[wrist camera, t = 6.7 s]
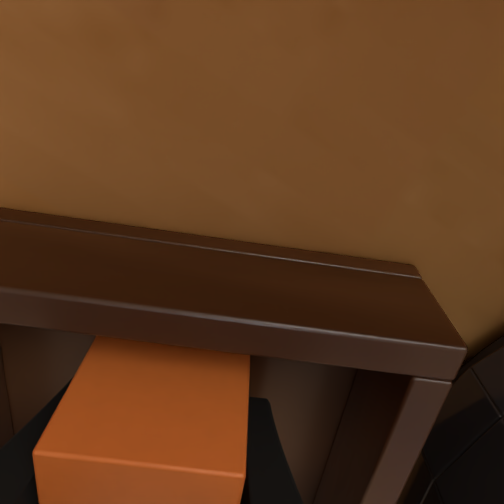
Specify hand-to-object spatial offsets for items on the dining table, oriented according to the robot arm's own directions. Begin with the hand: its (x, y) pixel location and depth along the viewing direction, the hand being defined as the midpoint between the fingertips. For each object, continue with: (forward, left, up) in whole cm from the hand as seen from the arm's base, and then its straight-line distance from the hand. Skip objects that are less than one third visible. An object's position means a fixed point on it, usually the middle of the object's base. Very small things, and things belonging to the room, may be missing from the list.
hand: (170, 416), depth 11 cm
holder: (-3, 0, -1) cm, 4 cm away
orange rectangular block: (0, 0, -1) cm, 1 cm away
